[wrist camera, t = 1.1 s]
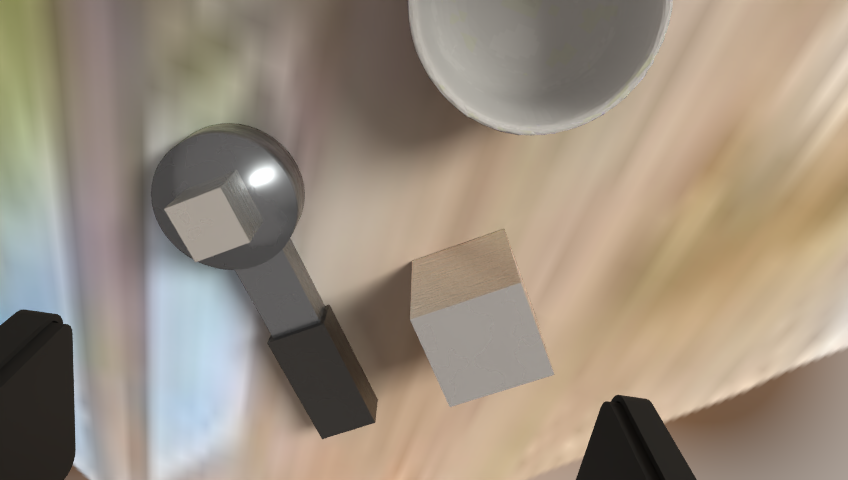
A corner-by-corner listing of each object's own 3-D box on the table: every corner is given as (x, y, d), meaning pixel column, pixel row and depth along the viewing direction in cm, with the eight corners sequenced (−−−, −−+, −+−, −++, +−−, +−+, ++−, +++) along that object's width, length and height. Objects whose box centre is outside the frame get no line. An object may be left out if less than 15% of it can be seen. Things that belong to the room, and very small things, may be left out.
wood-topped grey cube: (504, 228, 38) (520, 282, 32) (533, 309, 40) (554, 374, 34) (412, 260, 39) (410, 319, 33) (445, 338, 41) (449, 407, 35)
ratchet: (405, 390, 43) (403, 447, 38) (299, 423, 44) (283, 483, 39) (267, 102, 35) (240, 125, 30) (142, 152, 36) (96, 182, 31)
